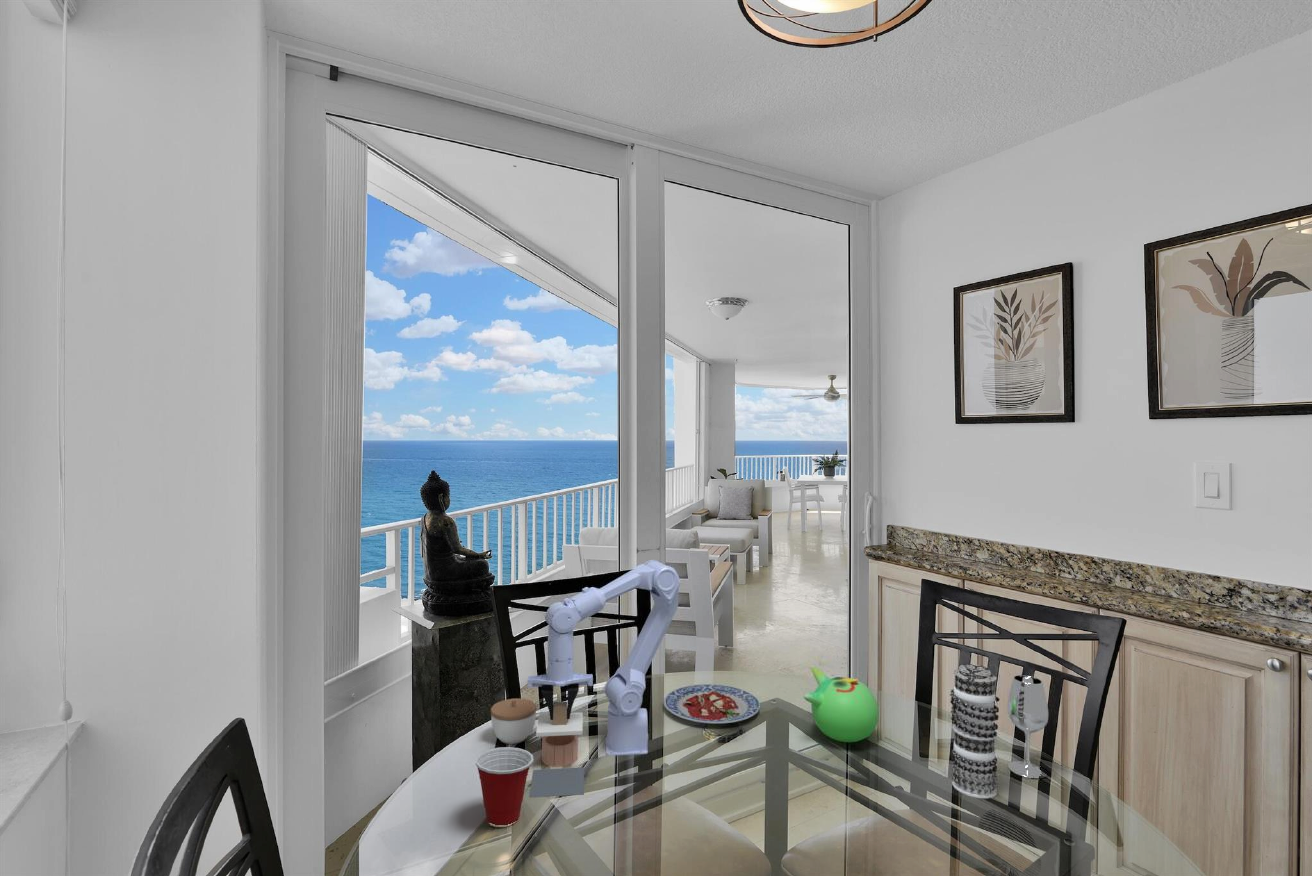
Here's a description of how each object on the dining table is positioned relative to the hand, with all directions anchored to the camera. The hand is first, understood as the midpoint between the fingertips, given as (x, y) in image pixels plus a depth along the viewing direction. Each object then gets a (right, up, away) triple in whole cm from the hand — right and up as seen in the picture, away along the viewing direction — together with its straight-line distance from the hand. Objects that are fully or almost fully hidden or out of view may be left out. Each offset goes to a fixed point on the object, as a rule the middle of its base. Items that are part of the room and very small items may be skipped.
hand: (560, 717), depth 147 cm
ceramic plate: (+37, -10, +28) cm, 47 cm away
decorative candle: (+88, -10, -11) cm, 89 cm away
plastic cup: (-7, -9, -24) cm, 26 cm away
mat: (+1, -9, -10) cm, 14 cm away
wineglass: (+103, -10, -4) cm, 104 cm away
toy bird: (+67, -10, +12) cm, 69 cm away
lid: (0, -2, 0) cm, 2 cm away
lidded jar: (-13, -10, +10) cm, 19 cm away
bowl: (0, -9, 0) cm, 9 cm away
